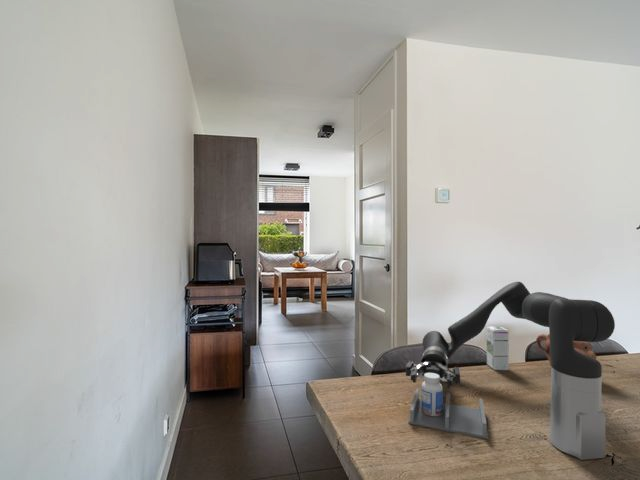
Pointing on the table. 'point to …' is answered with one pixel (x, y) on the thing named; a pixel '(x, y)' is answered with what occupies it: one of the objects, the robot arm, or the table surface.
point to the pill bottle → (432, 395)
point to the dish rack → (451, 418)
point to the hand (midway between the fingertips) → (430, 381)
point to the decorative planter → (578, 345)
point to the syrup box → (497, 348)
